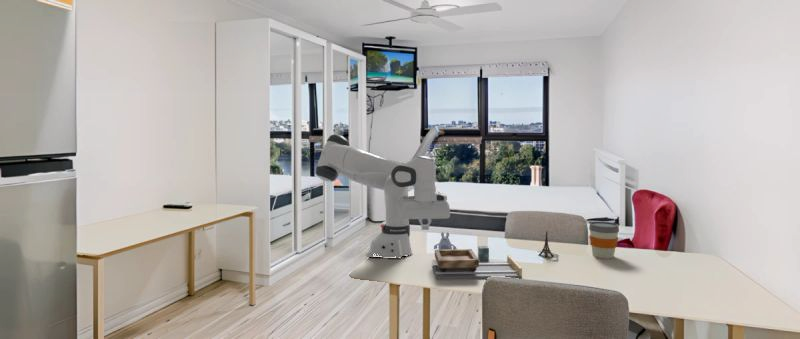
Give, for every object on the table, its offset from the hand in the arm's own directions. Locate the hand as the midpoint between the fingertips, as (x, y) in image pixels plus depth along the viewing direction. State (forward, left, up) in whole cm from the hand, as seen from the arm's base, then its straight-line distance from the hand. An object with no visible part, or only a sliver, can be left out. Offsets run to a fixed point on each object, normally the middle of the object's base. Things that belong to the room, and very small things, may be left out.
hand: (425, 229), depth 175 cm
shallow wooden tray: (+13, +2, -17) cm, 21 cm away
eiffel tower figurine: (+59, +22, -19) cm, 66 cm away
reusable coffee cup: (+85, +22, -19) cm, 90 cm away
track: (+21, +2, -19) cm, 28 cm away
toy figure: (+11, +22, -19) cm, 31 cm away
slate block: (+28, +18, -19) cm, 38 cm away
